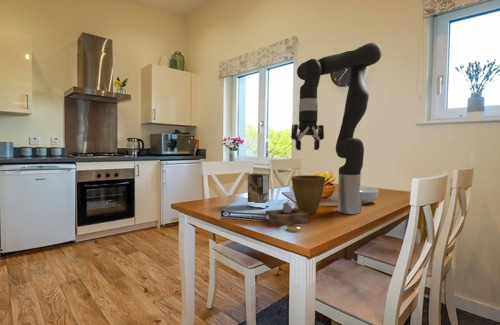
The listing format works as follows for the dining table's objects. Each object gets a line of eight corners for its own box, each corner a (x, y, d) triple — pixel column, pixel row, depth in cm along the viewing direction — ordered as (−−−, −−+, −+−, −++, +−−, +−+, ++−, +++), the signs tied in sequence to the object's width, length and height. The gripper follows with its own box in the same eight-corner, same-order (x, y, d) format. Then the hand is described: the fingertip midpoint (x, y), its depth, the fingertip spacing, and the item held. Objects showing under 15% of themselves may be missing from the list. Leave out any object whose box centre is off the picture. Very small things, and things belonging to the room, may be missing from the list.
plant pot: (325, 209, 129) (325, 175, 128) (323, 217, 115) (324, 179, 114) (293, 207, 133) (294, 174, 132) (288, 214, 119) (288, 177, 118)
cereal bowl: (346, 198, 156) (346, 185, 156) (378, 200, 149) (378, 187, 148) (342, 203, 141) (342, 190, 141) (377, 207, 134) (378, 192, 133)
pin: (288, 219, 111) (288, 202, 111) (292, 221, 108) (292, 204, 108) (281, 220, 110) (281, 203, 109) (285, 222, 107) (285, 204, 106)
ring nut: (296, 227, 101) (296, 223, 101) (304, 232, 96) (304, 227, 96) (284, 229, 99) (284, 225, 99) (291, 233, 94) (291, 229, 94)
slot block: (295, 216, 116) (295, 208, 116) (309, 222, 107) (309, 213, 107) (265, 219, 111) (265, 210, 111) (276, 226, 102) (276, 217, 102)
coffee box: (269, 206, 134) (270, 174, 133) (263, 209, 129) (263, 175, 128) (254, 204, 139) (254, 172, 138) (247, 206, 134) (247, 174, 133)
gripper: (317, 112, 119) (316, 149, 120) (288, 110, 114) (288, 149, 115) (328, 110, 112) (327, 150, 113) (297, 108, 107) (297, 150, 108)
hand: (307, 150), depth 114 cm, fingers open, 8 cm apart
